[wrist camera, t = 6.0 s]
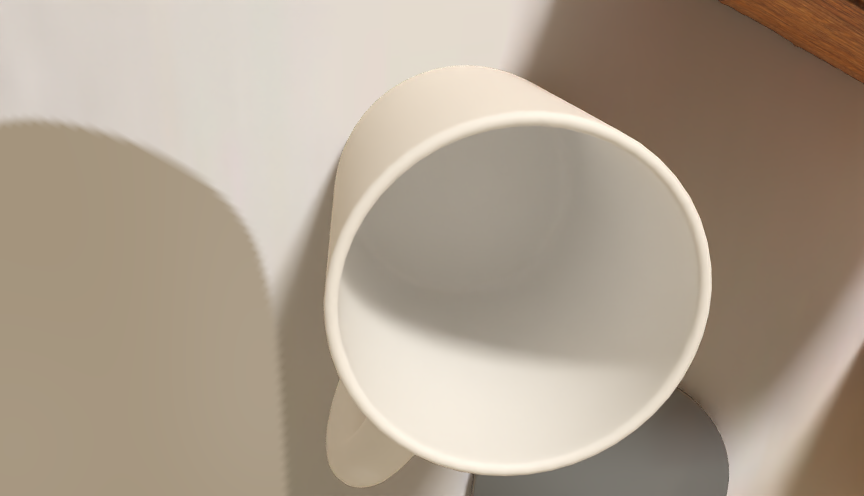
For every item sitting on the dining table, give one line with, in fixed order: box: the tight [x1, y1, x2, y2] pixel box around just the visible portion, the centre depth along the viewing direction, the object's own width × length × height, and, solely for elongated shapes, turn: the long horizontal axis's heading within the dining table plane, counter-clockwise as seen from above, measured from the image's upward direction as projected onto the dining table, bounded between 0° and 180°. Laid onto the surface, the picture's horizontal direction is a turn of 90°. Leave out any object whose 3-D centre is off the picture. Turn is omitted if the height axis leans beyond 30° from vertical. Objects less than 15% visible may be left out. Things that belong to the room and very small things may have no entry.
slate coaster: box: [472, 387, 729, 496], centre depth 30 cm, size 10×10×1 cm
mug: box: [323, 65, 712, 488], centre depth 21 cm, size 12×8×10 cm
